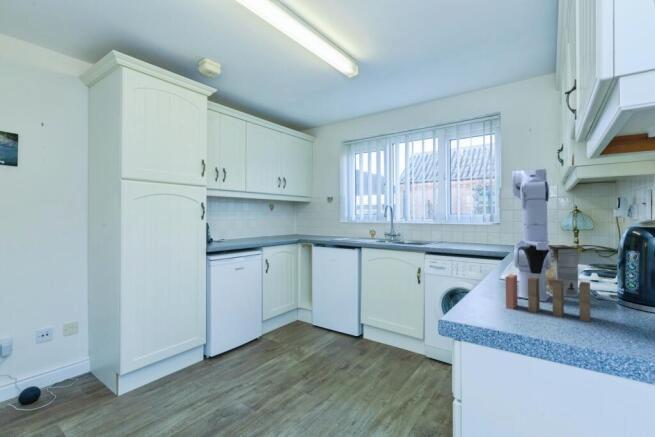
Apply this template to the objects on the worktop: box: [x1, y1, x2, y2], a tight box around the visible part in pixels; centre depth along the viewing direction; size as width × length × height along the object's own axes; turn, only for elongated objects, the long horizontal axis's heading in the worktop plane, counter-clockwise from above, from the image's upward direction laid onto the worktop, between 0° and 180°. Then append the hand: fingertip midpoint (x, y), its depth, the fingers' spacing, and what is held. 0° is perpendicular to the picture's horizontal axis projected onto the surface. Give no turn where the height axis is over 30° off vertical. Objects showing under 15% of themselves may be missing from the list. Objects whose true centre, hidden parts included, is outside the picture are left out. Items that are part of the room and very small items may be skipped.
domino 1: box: [505, 274, 519, 310], centre depth 90 cm, size 5×2×9 cm, turn 135°
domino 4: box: [578, 281, 591, 323], centre depth 78 cm, size 5×2×9 cm, turn 136°
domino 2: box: [527, 277, 541, 314], centre depth 86 cm, size 5×2×9 cm, turn 136°
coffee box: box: [546, 244, 579, 298], centre depth 103 cm, size 9×6×16 cm
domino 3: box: [552, 279, 565, 318], centre depth 82 cm, size 5×2×9 cm, turn 136°
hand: (535, 273), depth 85 cm, fingers closed
